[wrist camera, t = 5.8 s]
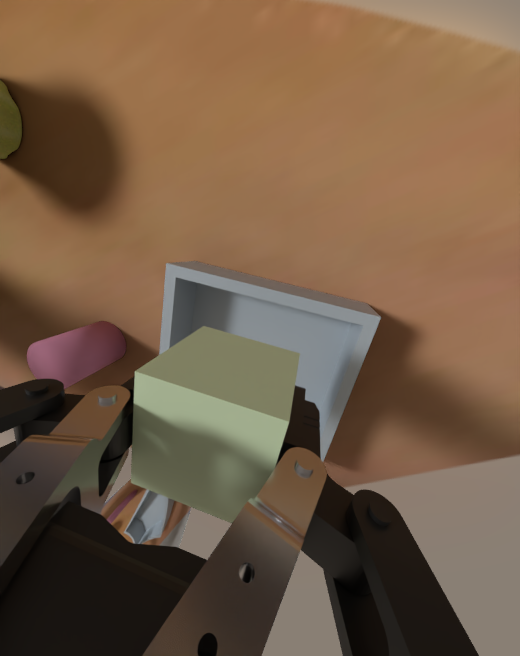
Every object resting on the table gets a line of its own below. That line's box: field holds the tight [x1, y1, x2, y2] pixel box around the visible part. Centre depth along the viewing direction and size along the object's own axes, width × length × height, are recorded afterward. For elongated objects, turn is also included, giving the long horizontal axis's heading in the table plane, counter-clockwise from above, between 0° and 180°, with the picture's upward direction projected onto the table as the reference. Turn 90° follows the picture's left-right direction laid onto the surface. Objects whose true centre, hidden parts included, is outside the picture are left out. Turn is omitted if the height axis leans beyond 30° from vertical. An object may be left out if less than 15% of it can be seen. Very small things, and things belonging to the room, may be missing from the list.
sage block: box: [131, 326, 300, 523], centre depth 10 cm, size 5×5×5 cm
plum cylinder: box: [27, 321, 126, 389], centre depth 23 cm, size 4×4×6 cm
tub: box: [159, 261, 381, 462], centre depth 20 cm, size 15×15×4 cm
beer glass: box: [101, 479, 191, 548], centre depth 20 cm, size 7×7×15 cm
